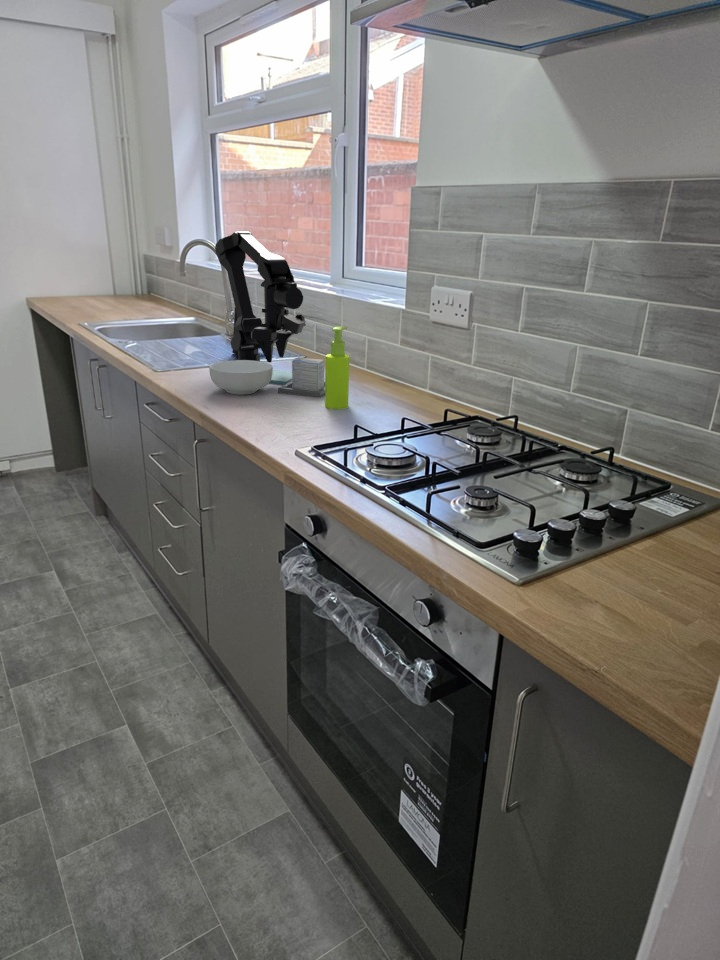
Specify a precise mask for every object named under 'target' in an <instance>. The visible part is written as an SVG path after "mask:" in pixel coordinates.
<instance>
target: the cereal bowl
mask: <svg viewBox="0 0 720 960" xmlns="http://www.w3.org/2000/svg"><path fill="white" fill-rule="evenodd" d="M208 368H209V376H210V377H209V378H210V379H211V381H212V383H214V385H215V386H216V387H218V388H221V389H223V390H225V391H226V392H227V393H229V394H232V395H251V394H254V393H256V392H257V391H258V390H262V389H263V388H266V387H267V386H268V385H269V384H270V383H269V382H270V381H271V378H272V373H273V370H274V368H273V365H272V364H271V363H269V362H264V361H261V360H260V361H252V360H236V359H235V360H223V361H216V362H213V363H211V364H209V367H208Z"/></svg>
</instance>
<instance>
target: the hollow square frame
mask: <svg viewBox="0 0 720 960" xmlns="http://www.w3.org/2000/svg"><path fill="white" fill-rule="evenodd" d="M277 389H278V391H277V393H278V394H284V395H292V396H300V397H301V396H303V397H311V398H322V397H323V396H324V397H325V381H324V388H323V389H321V390H319V391H310V390H302V389H293V388H292V381H290V382H289V383H287V384H285V385H280V386H278V388H277Z"/></svg>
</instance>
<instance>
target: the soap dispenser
mask: <svg viewBox="0 0 720 960" xmlns="http://www.w3.org/2000/svg"><path fill="white" fill-rule="evenodd" d="M347 329H348V327H347V326H340V325H339V326H334V327H333V328H332V332H334V339H332V340H331V341H330V353H328V354H326V355H325V372H324V382H325V395H324V407H325V408H327V409H331V410H343V409H347V408H349V396H350V395H349V392H350V390H349V389H350V388H349V387H350V386H349V385H350V358H351V357H350V355H349V354H346V353H345V352H346V351H345V350H346V349H345V347H346V346H345V344H346V341H344V339H342V337H343V336H342V334H343V333H342V332H343V331H344V330H347Z"/></svg>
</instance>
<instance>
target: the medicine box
mask: <svg viewBox="0 0 720 960" xmlns="http://www.w3.org/2000/svg"><path fill="white" fill-rule="evenodd" d="M291 369H292V370H291V372H292V388H293V389H302V390H310V391H319V390H321V389H323V388H324V382H325V360H324V359H318V358H307V357H296V358H294V359H292V360H291Z"/></svg>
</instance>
